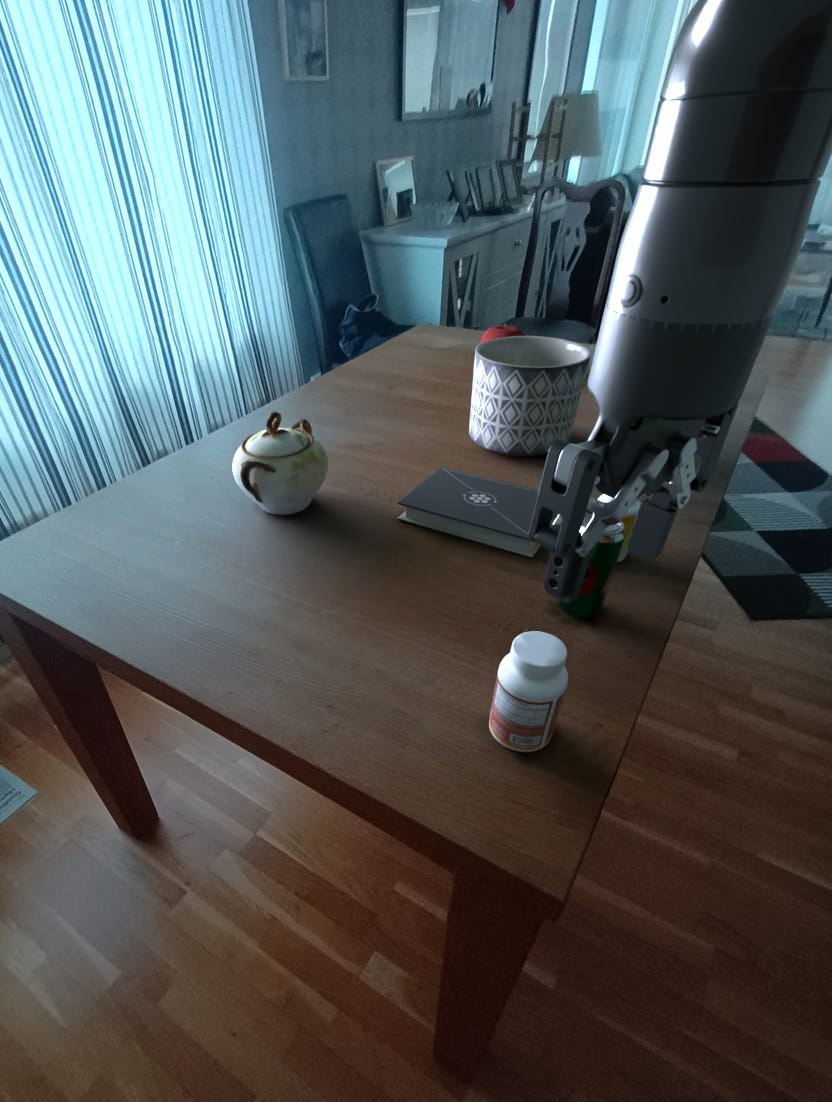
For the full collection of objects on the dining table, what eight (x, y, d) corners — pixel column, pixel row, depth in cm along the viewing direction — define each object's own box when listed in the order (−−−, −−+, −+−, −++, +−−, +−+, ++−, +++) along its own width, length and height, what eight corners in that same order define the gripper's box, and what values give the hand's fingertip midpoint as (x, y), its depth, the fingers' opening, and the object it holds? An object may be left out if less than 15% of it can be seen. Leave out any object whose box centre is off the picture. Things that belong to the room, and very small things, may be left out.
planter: (578, 433, 112) (600, 341, 102) (556, 473, 100) (578, 372, 89) (483, 419, 119) (494, 331, 108) (451, 454, 107) (460, 359, 96)
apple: (521, 384, 135) (529, 329, 127) (475, 382, 137) (481, 327, 129) (522, 369, 143) (530, 317, 135) (478, 368, 145) (484, 316, 137)
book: (565, 513, 89) (570, 496, 87) (531, 559, 80) (535, 540, 78) (439, 482, 98) (441, 465, 96) (396, 519, 89) (397, 502, 87)
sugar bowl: (293, 541, 85) (282, 443, 76) (212, 521, 91) (191, 427, 81) (351, 485, 99) (348, 395, 89) (277, 470, 104) (266, 384, 94)
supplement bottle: (633, 557, 80) (657, 489, 73) (605, 570, 77) (627, 501, 71) (601, 539, 83) (621, 473, 76) (574, 551, 81) (591, 484, 74)
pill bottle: (521, 698, 60) (541, 616, 53) (565, 738, 56) (592, 655, 49) (475, 721, 58) (488, 639, 51) (516, 764, 54) (537, 682, 47)
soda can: (603, 622, 69) (632, 536, 61) (560, 619, 70) (583, 533, 62) (596, 597, 73) (623, 513, 65) (555, 594, 74) (577, 510, 66)
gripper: (671, 340, 23) (577, 645, 33) (844, 289, 28) (717, 563, 39) (528, 308, 27) (486, 584, 38) (701, 270, 33) (622, 519, 44)
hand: (603, 573), depth 39 cm, fingers open, 8 cm apart
